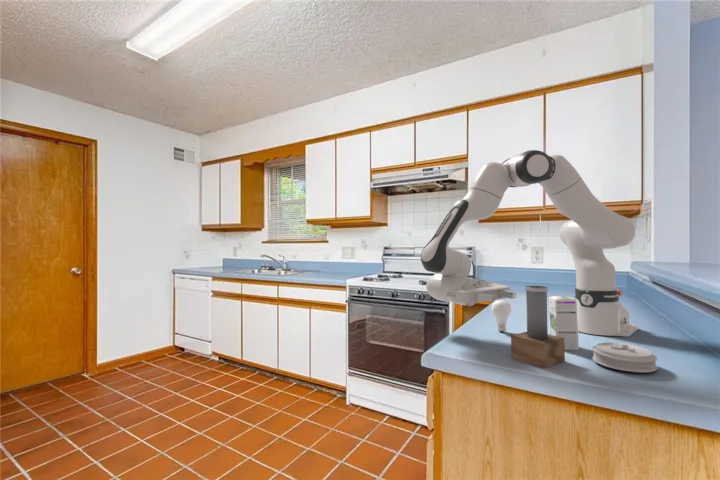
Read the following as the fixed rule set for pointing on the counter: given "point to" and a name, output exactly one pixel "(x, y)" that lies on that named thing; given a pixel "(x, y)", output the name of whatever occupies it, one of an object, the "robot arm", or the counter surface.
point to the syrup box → (564, 320)
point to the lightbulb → (501, 313)
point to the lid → (624, 357)
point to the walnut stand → (538, 350)
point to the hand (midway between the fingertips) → (504, 297)
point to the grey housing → (537, 312)
